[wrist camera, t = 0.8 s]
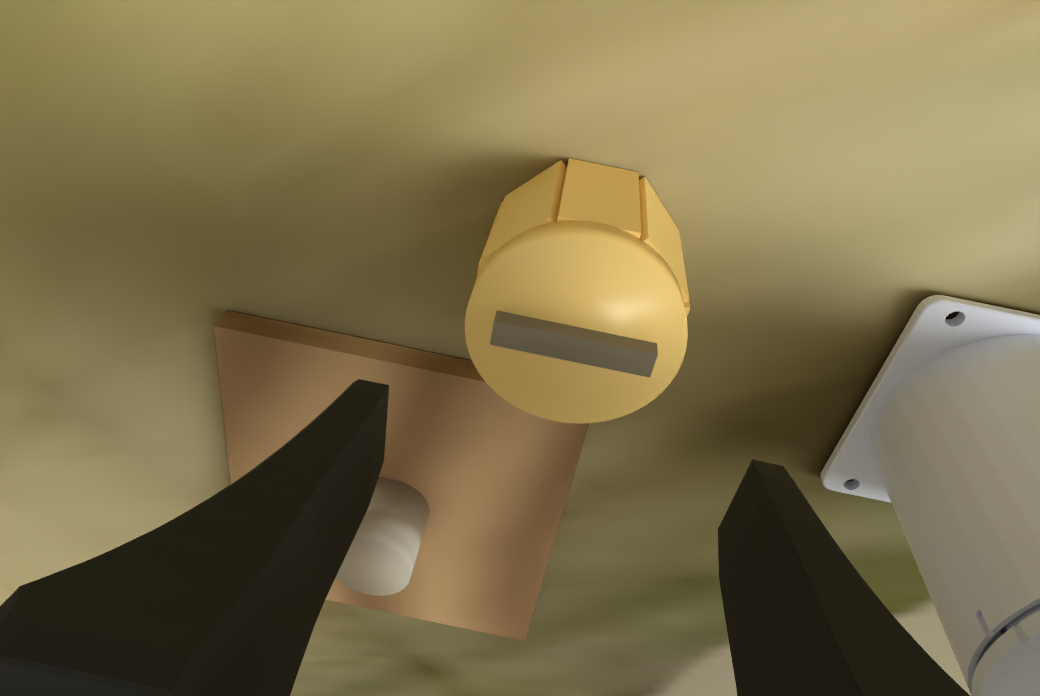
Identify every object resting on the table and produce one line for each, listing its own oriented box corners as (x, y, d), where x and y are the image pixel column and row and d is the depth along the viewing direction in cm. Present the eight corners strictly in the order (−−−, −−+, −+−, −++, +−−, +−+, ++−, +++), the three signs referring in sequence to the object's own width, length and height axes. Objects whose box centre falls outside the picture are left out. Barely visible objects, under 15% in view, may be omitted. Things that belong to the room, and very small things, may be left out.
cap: (700, 182, 20) (721, 274, 15) (648, 340, 23) (653, 454, 19) (508, 144, 20) (475, 224, 16) (483, 307, 23) (449, 411, 19)
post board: (595, 385, 24) (591, 467, 21) (527, 621, 32) (516, 706, 29) (227, 310, 24) (165, 379, 21) (251, 563, 33) (209, 641, 29)
